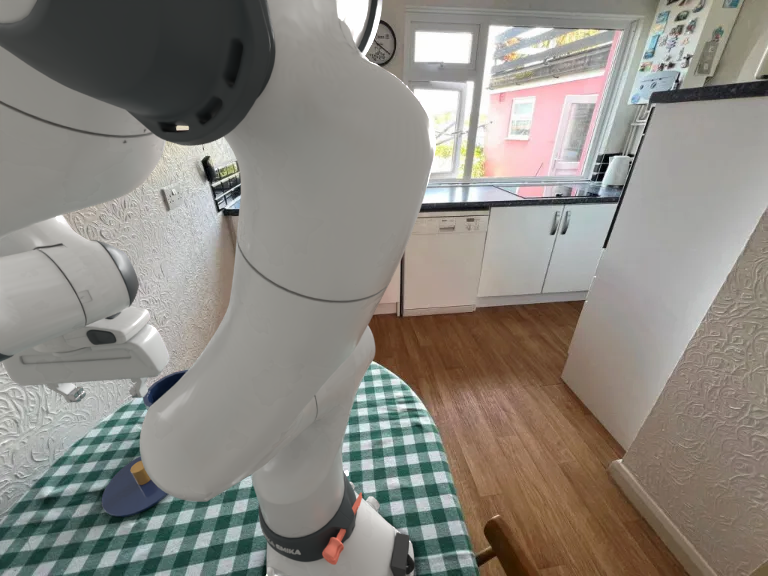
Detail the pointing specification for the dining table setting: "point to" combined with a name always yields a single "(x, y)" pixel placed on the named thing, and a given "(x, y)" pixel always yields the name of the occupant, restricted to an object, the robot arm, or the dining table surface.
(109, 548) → the dining table surface
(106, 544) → the dining table surface
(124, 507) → the tin lid
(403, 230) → the robot arm
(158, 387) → the tin
